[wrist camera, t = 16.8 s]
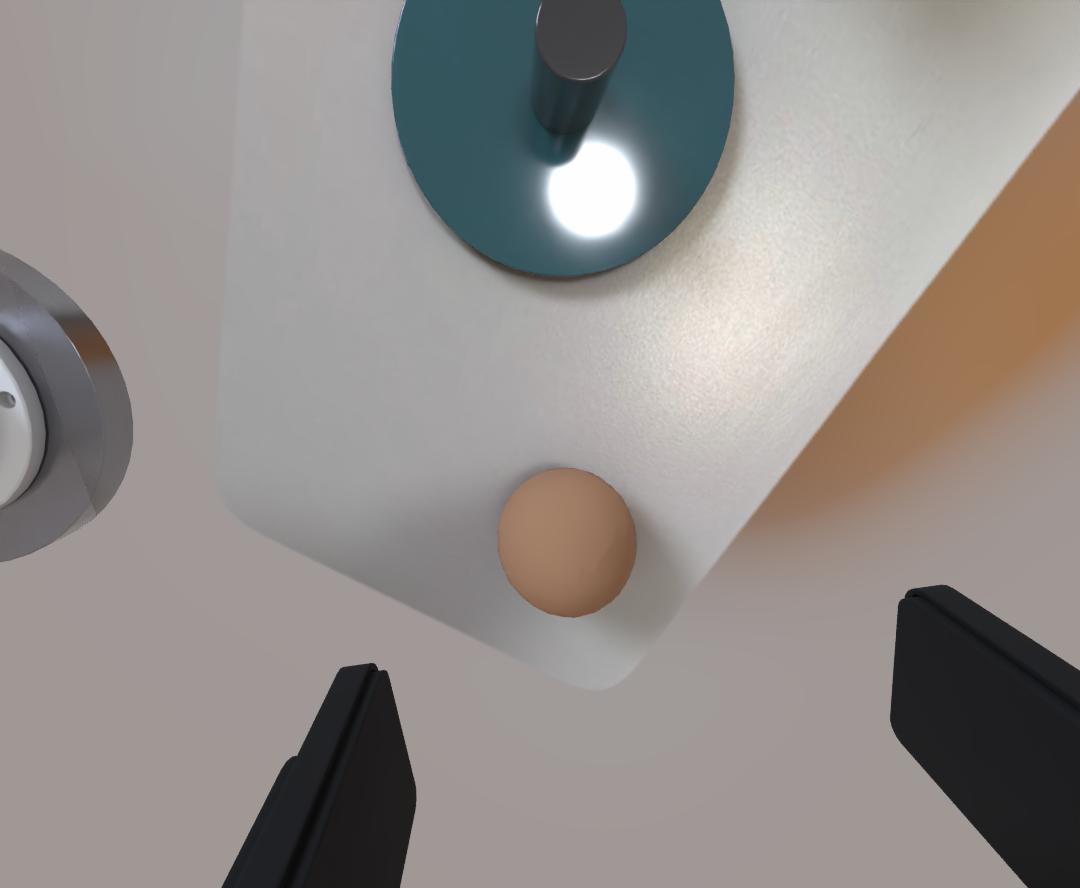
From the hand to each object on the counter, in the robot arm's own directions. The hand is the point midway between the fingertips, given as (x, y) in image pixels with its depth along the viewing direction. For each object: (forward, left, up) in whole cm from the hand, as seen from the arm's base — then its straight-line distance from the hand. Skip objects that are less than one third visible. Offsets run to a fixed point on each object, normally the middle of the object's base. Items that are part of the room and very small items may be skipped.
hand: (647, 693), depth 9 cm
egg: (-1, -4, -18) cm, 19 cm away
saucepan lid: (+2, +15, -18) cm, 23 cm away
